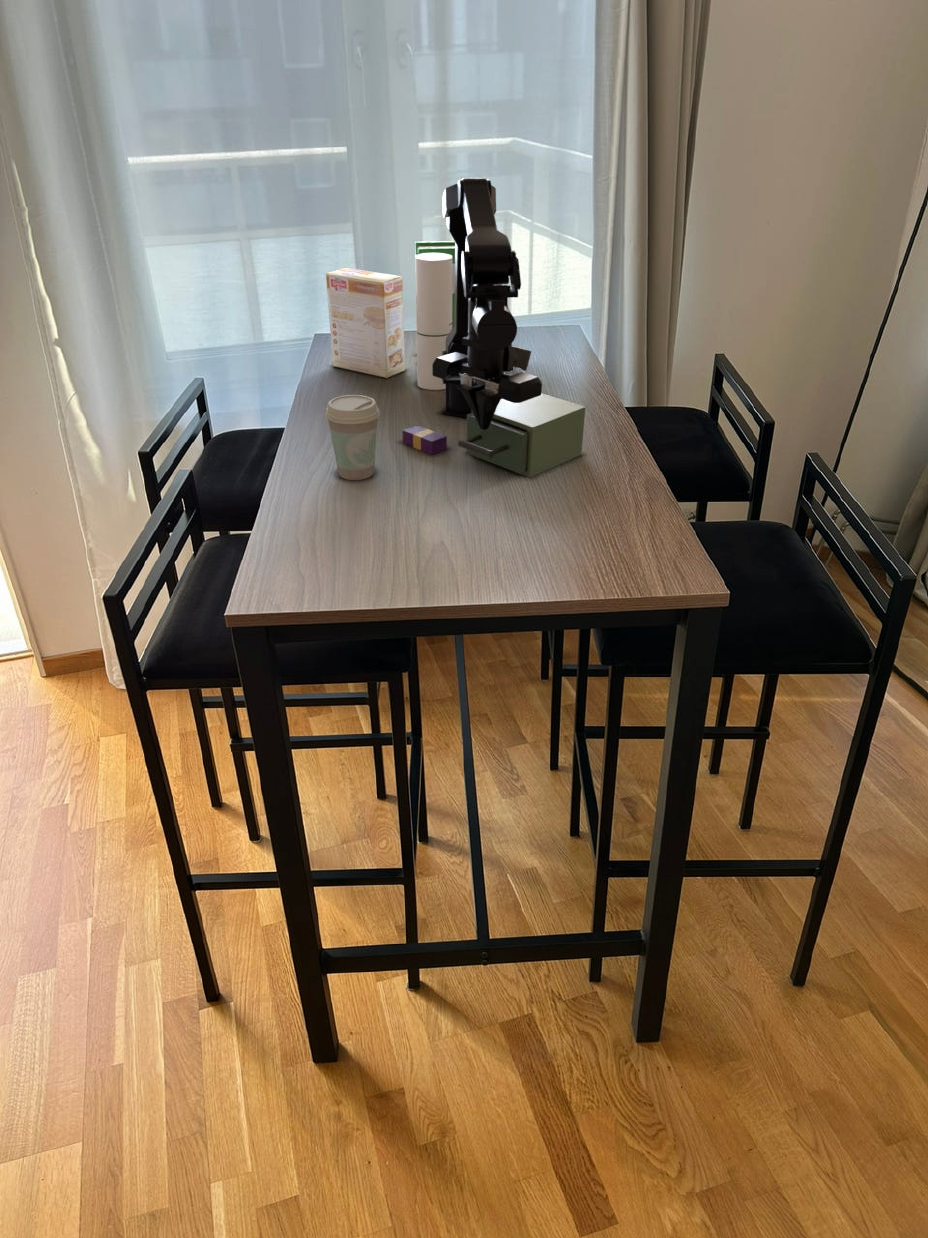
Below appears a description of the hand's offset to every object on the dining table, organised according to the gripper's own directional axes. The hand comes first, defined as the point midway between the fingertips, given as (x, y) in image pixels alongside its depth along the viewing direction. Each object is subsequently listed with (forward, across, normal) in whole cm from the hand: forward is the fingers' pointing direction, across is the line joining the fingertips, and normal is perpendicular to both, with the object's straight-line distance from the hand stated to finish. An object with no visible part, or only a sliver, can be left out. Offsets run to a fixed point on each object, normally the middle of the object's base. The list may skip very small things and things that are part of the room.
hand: (484, 428), depth 143 cm
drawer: (+7, 0, -6) cm, 9 cm away
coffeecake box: (+8, +55, -22) cm, 60 cm away
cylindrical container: (+8, +38, -25) cm, 46 cm away
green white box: (+8, +47, -41) cm, 63 cm away
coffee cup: (+8, +14, +15) cm, 22 cm away
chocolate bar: (+8, +15, -1) cm, 17 cm away
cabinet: (+8, 0, -11) cm, 13 cm away
